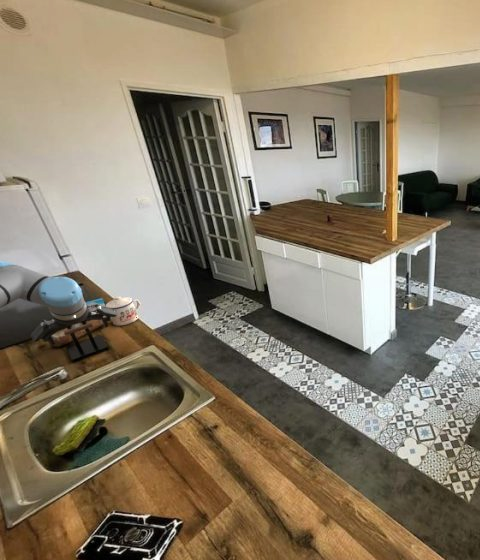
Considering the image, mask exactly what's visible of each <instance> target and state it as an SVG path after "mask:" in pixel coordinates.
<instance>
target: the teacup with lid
mask: <svg viewBox="0 0 480 560" xmlns="http://www.w3.org/2000/svg"><path fill="white" fill-rule="evenodd" d="M135 302H136V304H137V305H136V306H135V304H134V303H135ZM105 305H106V308H110V309H114V311H115V313H116V315H117V316H115V317H110V318H111V321H112V324H113V325H114V326H118V327H119V326H127V325H130V324H132V323H134V322H136V321H137V320H138V319H139V315H138V310H139V309H140V308H141V302H140V300H139V299H133V298H131V297H127V296H126V297H125V296H124V297H121V296H119V295H118V296H117V295H116V296H114V298H113V299H112V300H110V301H108V302H107V303H106V304H105ZM136 317H137V318H136Z"/></svg>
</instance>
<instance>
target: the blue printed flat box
mask: <svg viewBox="0 0 480 560" xmlns="http://www.w3.org/2000/svg"><path fill="white" fill-rule="evenodd" d="M85 303H86V306H87V308H88V309H92V308H93V307H95V305H96V304H99V305H100V306H102V307H106V304H105V301H104V298H103V297H102V298H96V299H94V300H93V299H92V300H89V301H85Z"/></svg>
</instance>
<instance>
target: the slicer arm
mask: <svg viewBox="0 0 480 560" xmlns="http://www.w3.org/2000/svg"><path fill="white" fill-rule="evenodd" d="M79 325H81V322H80V323H78V324H75V325H71V327H75V328H73V329H70V330H66V331H64V334H65V335H68V334H71V333H74V332H78V331H81V330H84V329H87V328H90V327H93V325H92V323H89V324H85V325H82V326H79Z"/></svg>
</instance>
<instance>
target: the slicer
mask: <svg viewBox="0 0 480 560" xmlns="http://www.w3.org/2000/svg"><path fill="white" fill-rule="evenodd" d="M86 322H87V321H82V322H80V323H82V325H85V324H86ZM71 327H72V325H69V326H67V327H66V329H68V330H70V329H72V328H71ZM85 331H86V333H87V334H86V335H87V337H88V338H85V339H83V340H80V341H79V339H77V338H76V336H75V334H74V333H71V334H70V335H71V337H72V339H73V341H72V342H73V343H70V344H67V345H66V346H65V347H66V349H67V351H68V354H69V357H70V359H71V361H72V363H76V362H79V361H81V360H84V359H88V358H89V357H93V356H95V355H98V354H100V353H103V352H105V351H108V350H110V348H109V346H108V344H107V342H106V341H105V339H104V338H103V336H102V335H101V333H100V334H98V335H95V336H93V334H92V331H91V332H90V330H89V328H87V329H85Z"/></svg>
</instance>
